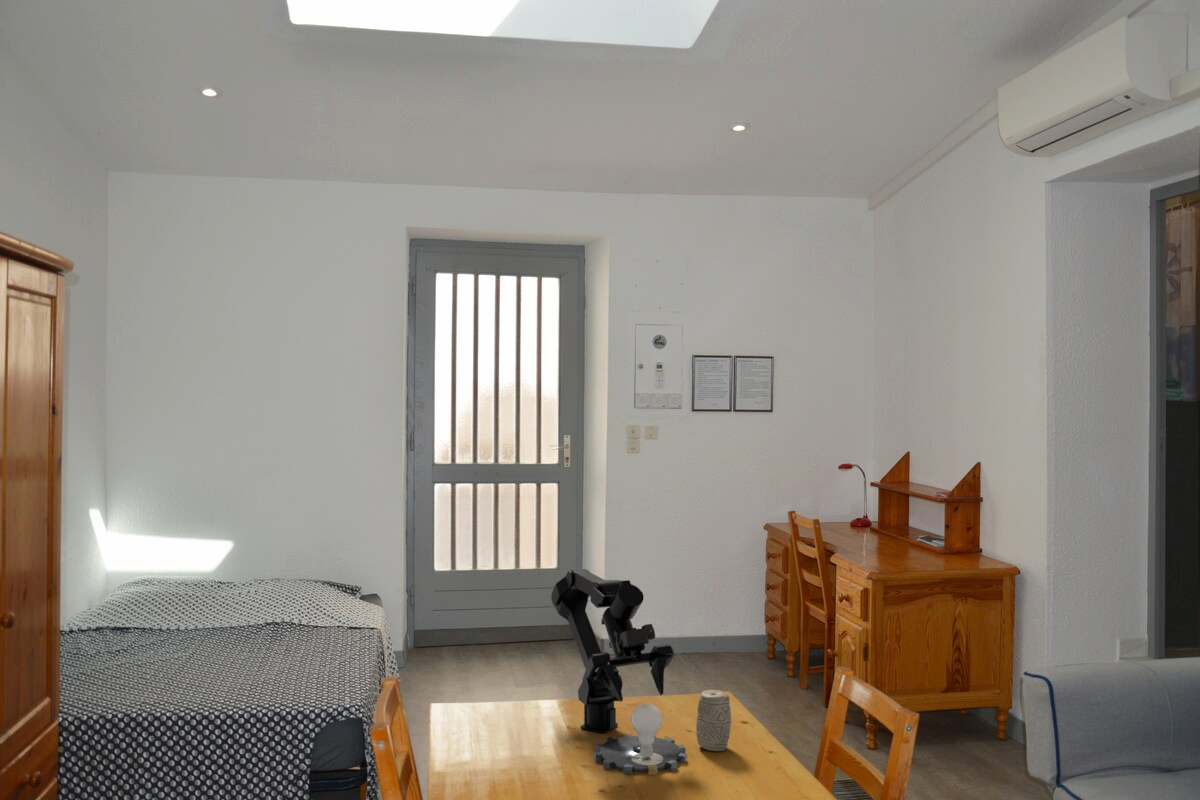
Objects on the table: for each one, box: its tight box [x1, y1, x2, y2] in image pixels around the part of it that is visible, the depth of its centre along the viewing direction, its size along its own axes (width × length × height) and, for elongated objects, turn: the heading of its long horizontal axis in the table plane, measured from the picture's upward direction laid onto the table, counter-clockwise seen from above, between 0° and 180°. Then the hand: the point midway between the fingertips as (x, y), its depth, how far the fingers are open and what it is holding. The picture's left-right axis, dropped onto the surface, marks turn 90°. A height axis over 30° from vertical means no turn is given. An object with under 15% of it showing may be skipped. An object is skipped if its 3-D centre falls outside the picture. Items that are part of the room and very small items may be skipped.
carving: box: [695, 689, 732, 752], centre depth 211 cm, size 6×8×12 cm
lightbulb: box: [630, 703, 663, 758], centre depth 201 cm, size 6×6×11 cm
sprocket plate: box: [593, 733, 687, 776], centre depth 206 cm, size 19×19×2 cm
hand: (641, 697), depth 203 cm, fingers open, 9 cm apart
